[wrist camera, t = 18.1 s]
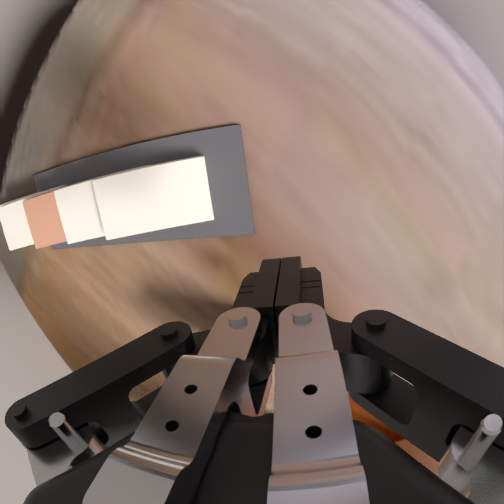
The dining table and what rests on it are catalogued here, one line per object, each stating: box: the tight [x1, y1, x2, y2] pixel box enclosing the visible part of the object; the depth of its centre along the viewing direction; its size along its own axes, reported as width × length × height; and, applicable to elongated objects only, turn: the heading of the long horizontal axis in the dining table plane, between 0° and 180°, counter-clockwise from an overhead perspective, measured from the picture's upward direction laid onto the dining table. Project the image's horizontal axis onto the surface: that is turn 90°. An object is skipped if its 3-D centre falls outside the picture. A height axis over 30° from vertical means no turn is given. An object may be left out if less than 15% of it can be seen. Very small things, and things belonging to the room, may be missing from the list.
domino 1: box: [0, 184, 66, 251], centre depth 26 cm, size 2×5×9 cm
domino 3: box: [54, 165, 150, 244], centre depth 24 cm, size 2×5×9 cm
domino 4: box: [92, 155, 214, 240], centre depth 23 cm, size 2×5×9 cm
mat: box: [33, 125, 255, 250], centre depth 26 cm, size 24×9×1 cm, turn 97°
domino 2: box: [23, 188, 67, 249], centre depth 25 cm, size 2×5×9 cm
